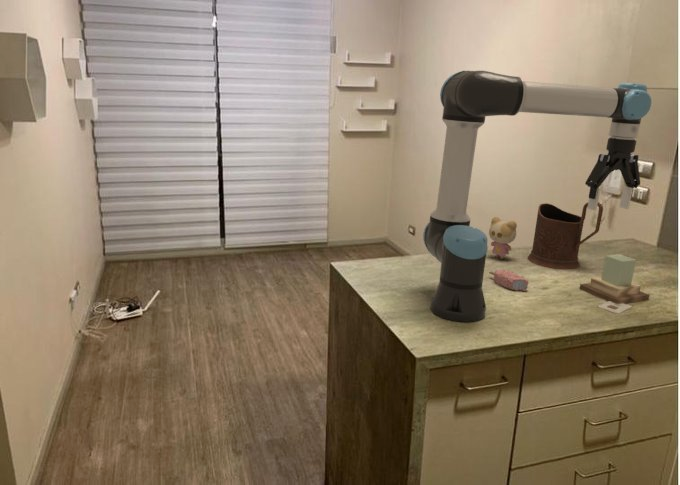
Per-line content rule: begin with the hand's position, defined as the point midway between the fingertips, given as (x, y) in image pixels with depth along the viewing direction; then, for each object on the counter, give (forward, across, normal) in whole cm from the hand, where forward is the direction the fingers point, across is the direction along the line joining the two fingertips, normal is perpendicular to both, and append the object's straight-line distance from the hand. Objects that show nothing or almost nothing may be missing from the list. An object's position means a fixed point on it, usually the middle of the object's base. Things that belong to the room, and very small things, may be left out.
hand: (608, 208), depth 165 cm
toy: (+27, -7, +37) cm, 46 cm away
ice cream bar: (+28, -23, +13) cm, 38 cm away
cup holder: (+27, +12, +25) cm, 38 cm away
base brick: (+27, +5, -4) cm, 27 cm away
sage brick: (+23, +5, -4) cm, 24 cm away
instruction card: (+27, -4, -12) cm, 30 cm away
